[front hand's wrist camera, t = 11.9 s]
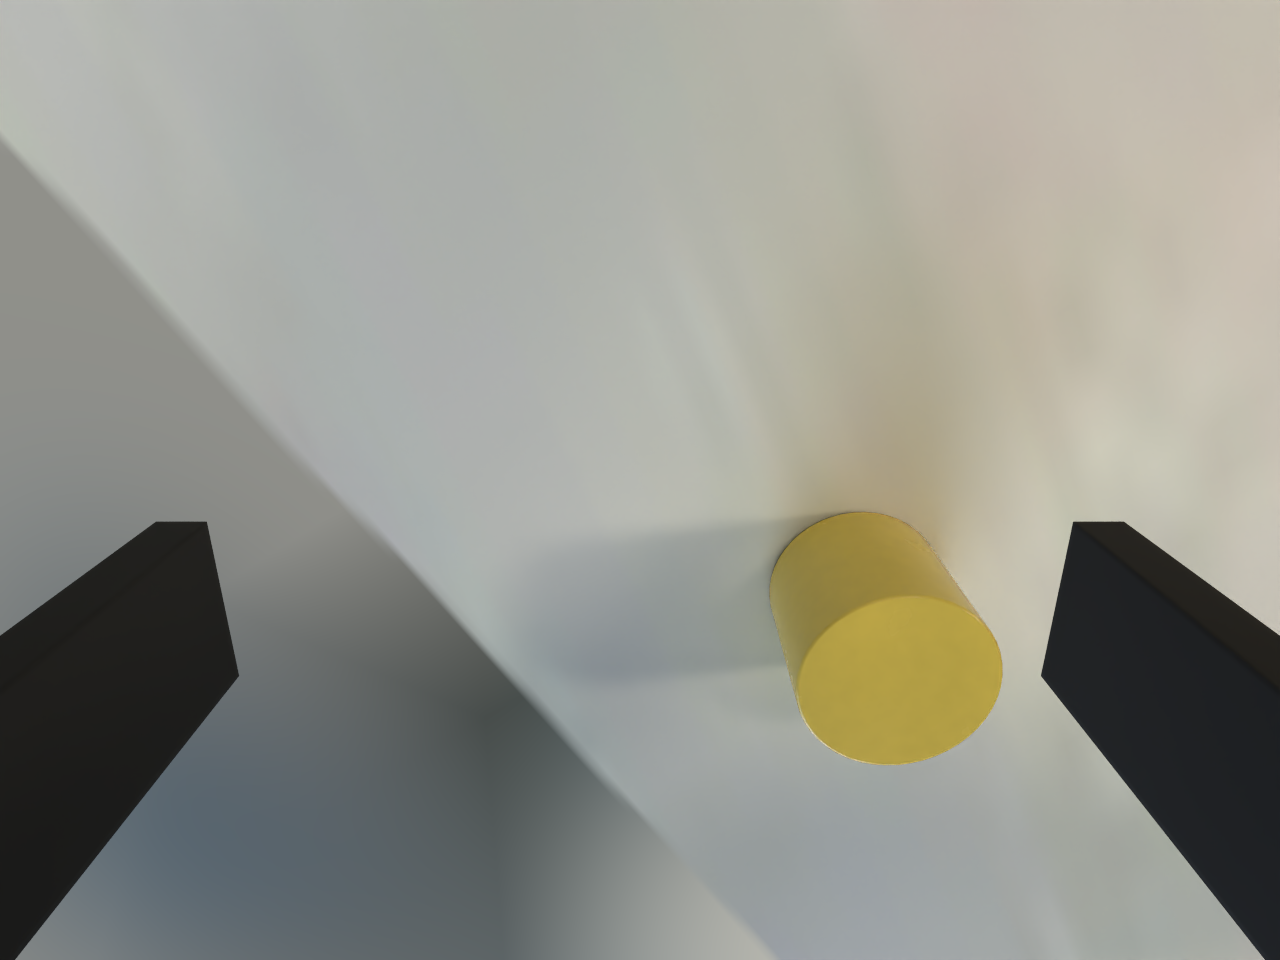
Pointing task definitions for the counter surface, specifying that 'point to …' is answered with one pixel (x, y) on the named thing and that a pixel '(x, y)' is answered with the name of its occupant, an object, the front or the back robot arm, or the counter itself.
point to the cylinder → (881, 641)
